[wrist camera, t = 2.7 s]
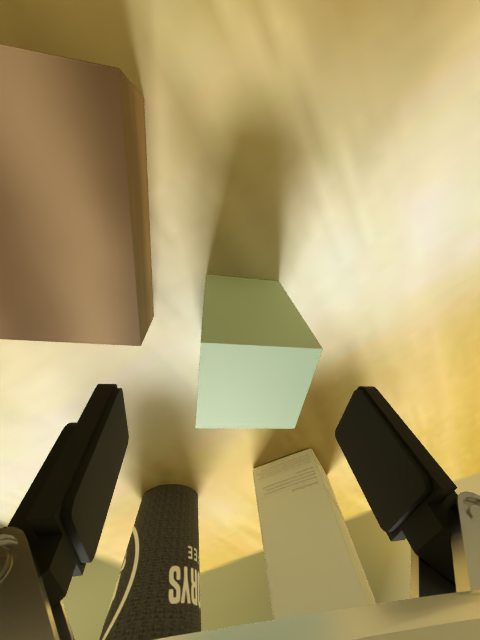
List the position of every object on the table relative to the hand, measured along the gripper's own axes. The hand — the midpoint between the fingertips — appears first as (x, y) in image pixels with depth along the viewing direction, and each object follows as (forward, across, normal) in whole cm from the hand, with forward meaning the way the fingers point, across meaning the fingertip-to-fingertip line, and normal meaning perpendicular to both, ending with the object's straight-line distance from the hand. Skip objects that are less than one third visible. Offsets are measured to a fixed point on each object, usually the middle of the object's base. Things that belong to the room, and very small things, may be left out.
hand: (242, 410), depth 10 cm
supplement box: (+9, -10, +21) cm, 25 cm away
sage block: (+9, -1, 0) cm, 9 cm away
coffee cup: (+9, +4, +26) cm, 28 cm away
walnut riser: (+10, +11, -5) cm, 16 cm away
